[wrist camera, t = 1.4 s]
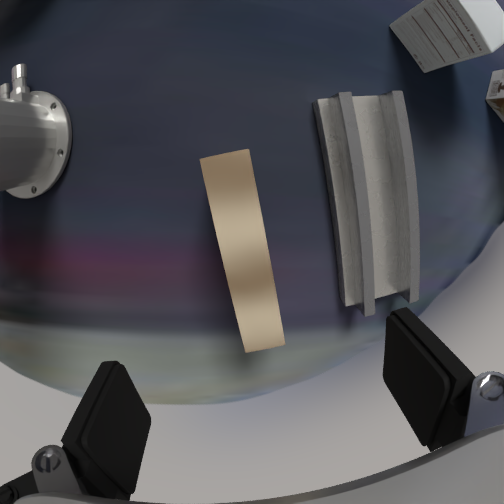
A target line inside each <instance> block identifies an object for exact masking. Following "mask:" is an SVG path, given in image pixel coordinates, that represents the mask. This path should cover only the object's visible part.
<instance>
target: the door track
mask: <svg viewBox="0 0 504 504" xmlns="http://www.w3.org/2000/svg"><path fill="white" fill-rule="evenodd" d="M312 104H313V109H314V113H315V118H316V123H317V129H318V134H319V139H320V145H321V150H322V156H323V162H324V168H325V174H326V180H327V187H328V194H329V201H330V208H331V215H332V223H333V231H334V240H335V249H336V258H337V268H338V279H339V290H340V299H341V301H342V302H343V303H344V305H345V306H350V305H353V304H355V305H356V306H357V308H358V309H359V310H360V311H361V313H362V314H363V315H364V316H365V317H366V316H369V315H373V314H375V299H376V298H379V297H383V296H386V295H390V294H393V293H397V292H398V293H399V294H400V295H401V296H402V297H403V298H404V299H405V300H407V301H408V302H409V303H412V302H415V301H418V299H419V274H420V235H419V210H418V195H417V183H416V173H415V164H414V156H413V148H412V141H411V135H410V128H409V122H408V117H407V111H406V106H405V101H404V96H403V92H402V91H390V92H387V93H384V94H382V95H379V96H357V97H352V95H351V92H340V93H337V94H335V95H333V96H332V97H330V98H328V99H317V100H316V101H314V102H313V103H312Z"/></svg>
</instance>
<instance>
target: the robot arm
mask: <svg viewBox="0 0 504 504" xmlns="http://www.w3.org/2000/svg"><path fill="white" fill-rule="evenodd" d="M26 79H27V66H26V64H19V65H16V66H14V67H13V68H12V83H13V91H12V92H11V93H10V84H9V83H6V84H3V85H1V86H0V191H4V190H6V191H7V192H8V193H10V194H11V195H13V196H15V197H18V198H25V199H27V198H32V197H36V196H39V195H41V194H43V193H45V192H46V191H48V190H49V189H50V188H51V187H52V186H53V185H54V184H55V183H56V182H57V180H58V179H59V178H60V176H61V174H62V172H63V171H64V169H65V167H66V164H67V161H68V158H69V155H70V150H71V144H72V126H71V121H70V117H69V114H68V112H67V109H66V107H65V106H64V104H63V103H62V102H61V100H60V99H58V98H57V97H56V96H55V95H52V94H50V93H47V92H43V91H32V92H30V88H29V87H27V85H26ZM383 379H384V382H385V384H386V385H387V387H388V389H389V390H390V392H391V394H392V395H393V397H394V399H395V400H396V402H397V404H398V405H399V407H400V408H401V410H402V412H403V414H404V415H405V417H406V419H407V421H408V422H409V424H410V426H411V427H412V429H413V431H414V433H415V434H416V436H417V437H418V439H419V441H420V443H421V444H422V445H423V446H426V445H427V447H428V448H429V450H430V452H431V453H428V454H426V455H424V456H422V457H419V458H417V459H414V460H412V461H409V462H407V463H404V464H401V465H399V466H396V467H393V468H391V469H388V470H385V471H382V472H379V473H376V474H373V475H371V476H367V477H364V478H361V479H358V480H354V481H351V482H347V483H344V484H340V485H336V486H332V487H328V488H324V489H320V490H315V491H311V492H306V493H301V494H296V495H290V496H284V497H277V498H271V499H263V500H255V501H246V502H233V503H218V504H504V375H503V374H501V373H499V372H494V371H493V372H485V373H481V374H480V375H479V376H477V377H475V376H474V375H473V373H472V372H471V371H470V370H469V369H468V368H467V367H466V366H465V365H464V364H463V363H462V362H461V361H460V360H459V358H458V357H457V356H456V355H455V354H454V353H453V352H452V351H451V350H450V349H449V348H448V347H447V346H446V345H445V344H444V343H443V342H442V341H441V340H440V339H439V338H438V337H437V336H436V335H435V334H434V333H433V332H432V331H431V330H430V329H429V328H428V327H427V326H426V325H425V324H424V323H423V322H422V321H421V320H420V319H419V318H418V317H417V316H416V315H415V314H414V313H413V312H412V311H410V310H409V309H408V308H407V307H404V308H401V309H398V310H394V311H392V312H391V313H390V316H388V317H387V319H386V336H385V353H384V366H383ZM150 426H151V417H150V414H149V412H148V410H147V409H146V407H145V405H144V403H143V401H142V399H141V398H140V396H139V394H138V392H137V390H136V388H135V386H134V384H133V382H132V380H131V378H130V376H129V374H128V372H127V370H126V368H125V366H124V365H122V364H120V363H119V362H118V361H105V362H102V363H101V365H100V367H99V368H98V370H97V372H96V374H95V376H94V377H93V379H92V381H91V383H90V385H89V387H88V388H87V390H86V392H85V394H84V396H83V398H82V400H81V402H80V404H79V405H78V407H77V409H76V411H75V413H74V415H73V417H72V419H71V421H70V423H69V425H68V427H67V429H66V431H65V433H64V435H63V437H62V439H61V441H62V443H63V446H62V448H61V447H59V446H57V445H48V446H44V447H43V448H41V449H39V450H38V451H37V452H36V453H35V455H34V457H33V459H32V471H30V472H28V473H26V474H24V475H22V476H20V477H18V478H16V479H14V480H12V481H10V482H8V483H6V484H4V485H2V486H1V487H0V504H164V503H147V502H135V501H129V500H130V495H131V494H133V493H134V492H135V488H136V484H137V479H138V475H139V470H140V466H141V462H142V458H143V454H144V450H145V446H146V441H147V437H148V433H149V429H150ZM440 447H442V448H440ZM438 448H439V449H438ZM436 449H437V450H436ZM434 450H435V451H434ZM432 451H433V452H432ZM117 499H118V500H117Z"/></svg>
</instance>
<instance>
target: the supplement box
mask: <svg viewBox="0 0 504 504" xmlns="http://www.w3.org/2000/svg"><path fill="white" fill-rule="evenodd" d="M389 26H390V28H391V29H392V30H393V32H394V33H395V34H396V36H397V37H398V38H399V39H400V41H401V42H402V43H403V45H404V46H405V47H406V49H407V50H408V51H409V53H410V54H411V55H412V57H413V58H414V60H415V61H416V62H417V64H418V65H419V67H420V68H421V70H422V71H423V72H424V73H427V72H430V71H432V70H435V69H438V68H441V67H444V66H448V65H451V64H454V63H458V62H461V61H464V60H468V59H472V58H475V57H479V56H482V55H486V54H489V53H492V52H494V51H495V50H496V49H498V48H499V47H500V46H501V45H503V44H504V12H503V10H502V9H501V7H500V6H499V5H498V3H497V2H496V0H425V1H423V2H422V3H420V4H418V5H417V6H416V7H414V8H413V9H411V10H410V11H408V12H407V13H405V14H404V15H403V16H401V17H400V18H399V19H397V20H396V21H394V22H393V23H392V24H390V25H389Z"/></svg>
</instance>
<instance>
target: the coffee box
mask: <svg viewBox="0 0 504 504" xmlns="http://www.w3.org/2000/svg"><path fill="white" fill-rule="evenodd" d="M486 102H487V103H488V104H489V105H490V106H491V107H492V109H493V110H494V111H495V112H496V114H497V115H498V116H499V117H500V118H501V120H502V121H503V122H504V69H503V70H498V71H493V73H492V77H491V81H490V85H489V88H488V92H487V96H486Z"/></svg>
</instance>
